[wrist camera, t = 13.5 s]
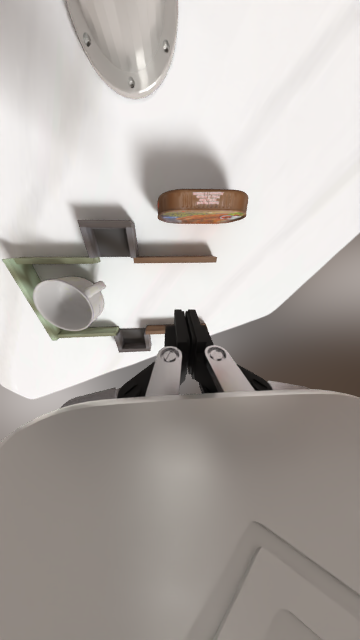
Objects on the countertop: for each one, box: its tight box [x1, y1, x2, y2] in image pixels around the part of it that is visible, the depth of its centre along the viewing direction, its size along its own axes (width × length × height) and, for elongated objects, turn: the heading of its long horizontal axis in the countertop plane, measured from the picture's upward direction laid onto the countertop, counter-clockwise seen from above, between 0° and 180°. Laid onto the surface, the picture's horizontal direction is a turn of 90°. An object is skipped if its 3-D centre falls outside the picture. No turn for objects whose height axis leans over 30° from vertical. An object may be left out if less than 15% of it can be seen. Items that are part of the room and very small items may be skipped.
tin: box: [158, 189, 248, 224], centre depth 22 cm, size 15×3×8 cm, turn 90°
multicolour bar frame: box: [2, 220, 217, 352], centre depth 32 cm, size 31×40×4 cm
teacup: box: [33, 276, 106, 331], centre depth 29 cm, size 14×11×8 cm
